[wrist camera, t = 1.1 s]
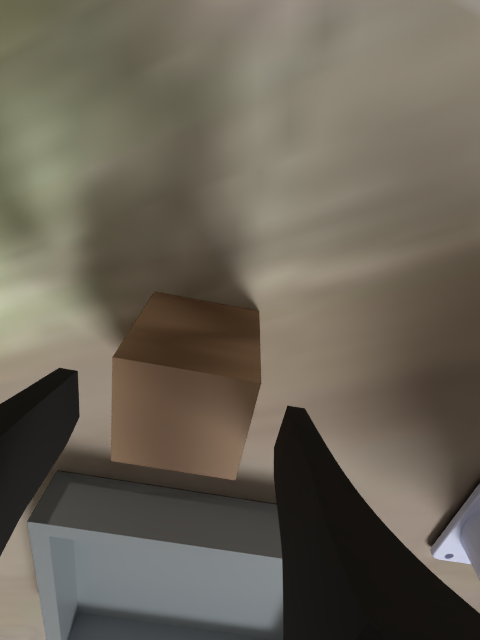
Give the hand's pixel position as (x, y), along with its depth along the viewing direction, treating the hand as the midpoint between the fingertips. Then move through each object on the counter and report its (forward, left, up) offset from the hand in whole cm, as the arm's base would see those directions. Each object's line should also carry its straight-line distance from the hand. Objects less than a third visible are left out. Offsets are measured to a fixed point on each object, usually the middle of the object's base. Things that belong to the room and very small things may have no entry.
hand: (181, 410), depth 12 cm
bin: (-2, +18, -4) cm, 19 cm away
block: (0, 0, -4) cm, 4 cm away
